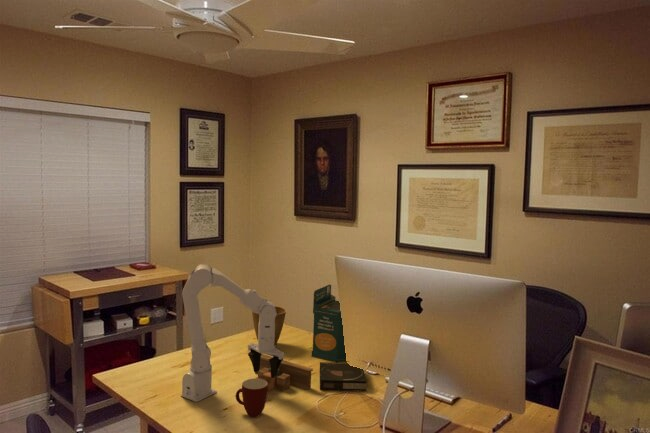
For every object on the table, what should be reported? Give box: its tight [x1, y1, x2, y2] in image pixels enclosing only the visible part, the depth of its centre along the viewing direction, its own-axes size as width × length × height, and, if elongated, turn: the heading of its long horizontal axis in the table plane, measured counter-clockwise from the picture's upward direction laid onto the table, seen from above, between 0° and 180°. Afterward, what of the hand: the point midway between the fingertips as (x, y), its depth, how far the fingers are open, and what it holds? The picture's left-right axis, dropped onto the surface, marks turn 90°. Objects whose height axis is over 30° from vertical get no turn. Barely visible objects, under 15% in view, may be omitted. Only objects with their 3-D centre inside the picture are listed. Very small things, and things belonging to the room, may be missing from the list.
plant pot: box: [251, 305, 287, 347], centre depth 216 cm, size 15×15×16 cm
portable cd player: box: [319, 361, 368, 392], centre depth 182 cm, size 16×17×4 cm
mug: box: [235, 378, 269, 418], centre depth 154 cm, size 10×8×10 cm
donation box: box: [310, 284, 347, 363], centre depth 207 cm, size 16×16×28 cm
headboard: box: [254, 354, 314, 392], centre depth 178 cm, size 8×25×7 cm, turn 58°
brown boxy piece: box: [254, 368, 280, 393], centre depth 172 cm, size 12×4×6 cm, turn 148°
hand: (265, 374), depth 171 cm, fingers open, 7 cm apart
